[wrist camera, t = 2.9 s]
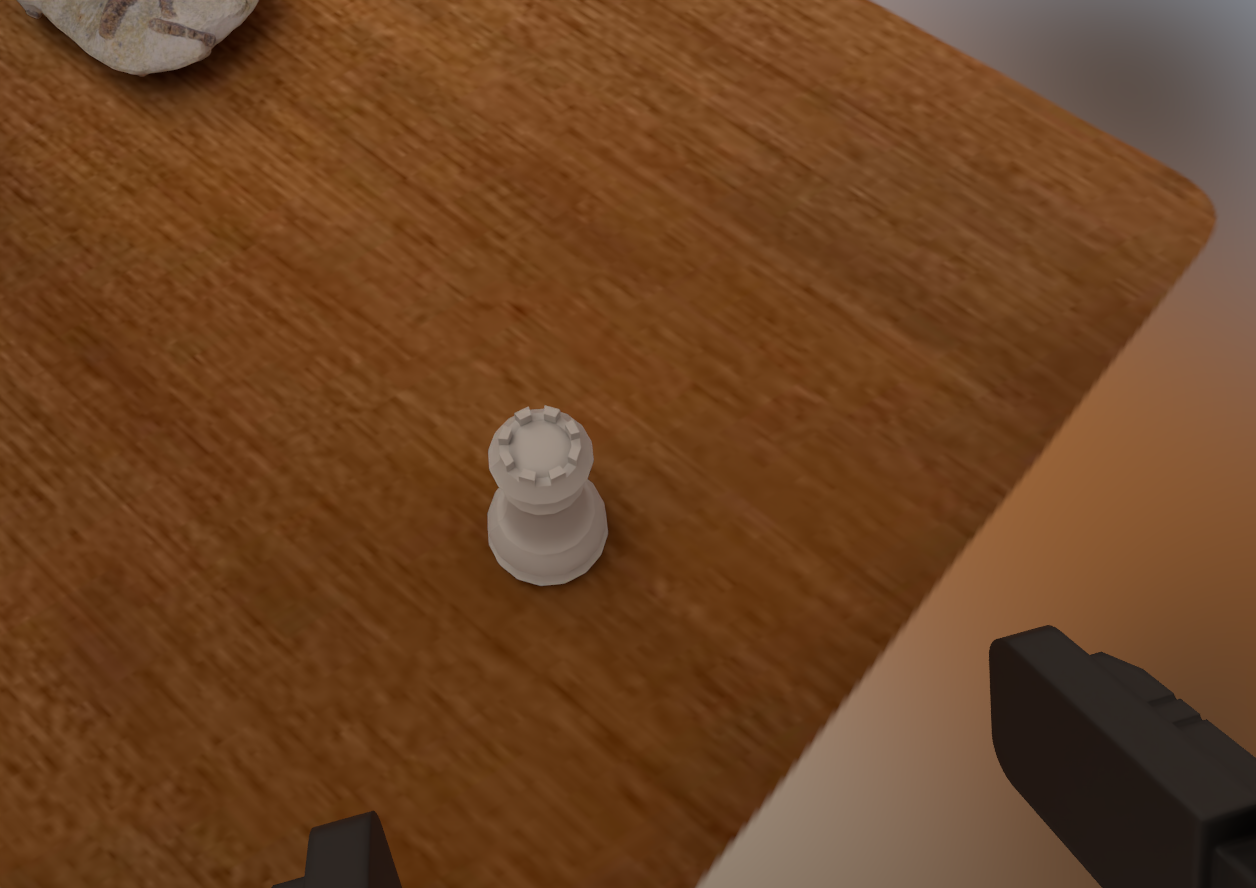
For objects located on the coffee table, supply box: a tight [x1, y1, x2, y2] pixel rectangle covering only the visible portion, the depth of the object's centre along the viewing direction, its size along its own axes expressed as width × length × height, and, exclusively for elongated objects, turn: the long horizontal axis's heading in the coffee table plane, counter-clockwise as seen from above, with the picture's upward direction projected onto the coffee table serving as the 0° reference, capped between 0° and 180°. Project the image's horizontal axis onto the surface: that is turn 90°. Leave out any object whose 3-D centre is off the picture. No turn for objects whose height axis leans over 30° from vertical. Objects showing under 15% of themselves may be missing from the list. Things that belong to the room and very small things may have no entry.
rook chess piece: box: [487, 406, 608, 586], centre depth 34 cm, size 4×4×8 cm
